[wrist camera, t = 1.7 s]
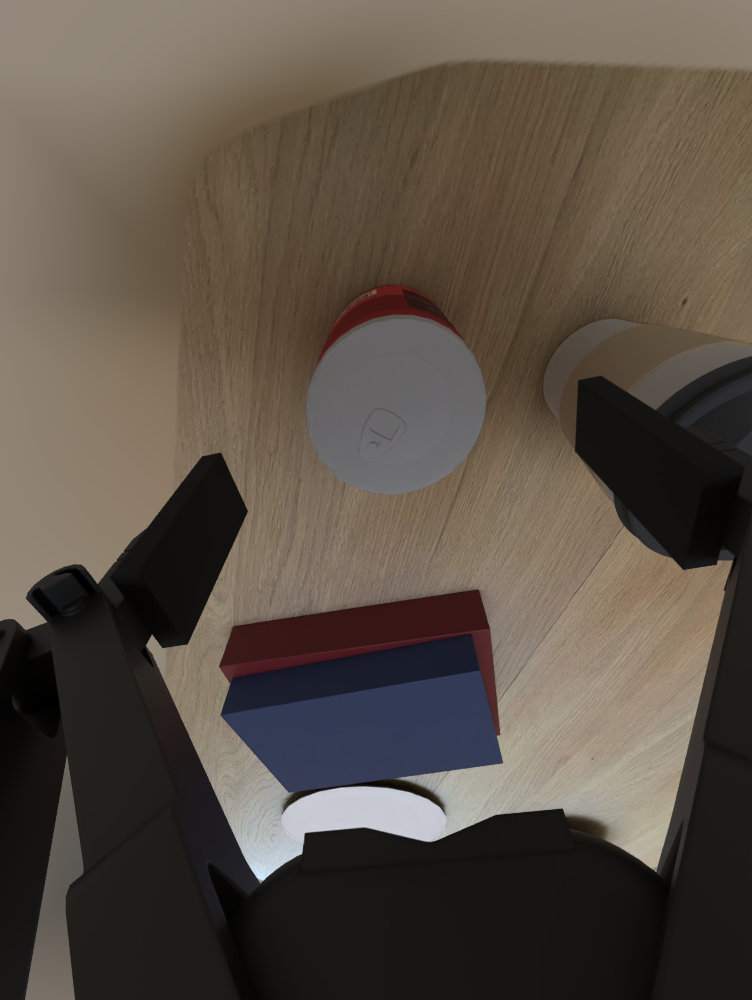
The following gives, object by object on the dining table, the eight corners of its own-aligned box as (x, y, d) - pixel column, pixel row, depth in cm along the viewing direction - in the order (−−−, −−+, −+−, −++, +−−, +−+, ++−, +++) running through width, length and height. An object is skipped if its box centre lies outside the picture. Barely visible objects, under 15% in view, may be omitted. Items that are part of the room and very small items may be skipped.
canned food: (318, 396, 29) (291, 477, 19) (343, 266, 24) (323, 290, 15) (425, 422, 30) (448, 511, 20) (467, 302, 25) (520, 347, 16)
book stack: (233, 626, 41) (205, 704, 35) (478, 589, 39) (500, 666, 32) (288, 719, 50) (275, 795, 44) (490, 695, 48) (509, 771, 41)
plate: (248, 799, 62) (245, 813, 61) (399, 758, 55) (399, 772, 54) (338, 854, 74) (337, 867, 73) (470, 826, 67) (472, 839, 66)
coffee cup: (700, 343, 27) (988, 448, 14) (598, 456, 31) (749, 613, 19) (591, 269, 24) (819, 317, 12) (498, 403, 29) (593, 541, 16)
